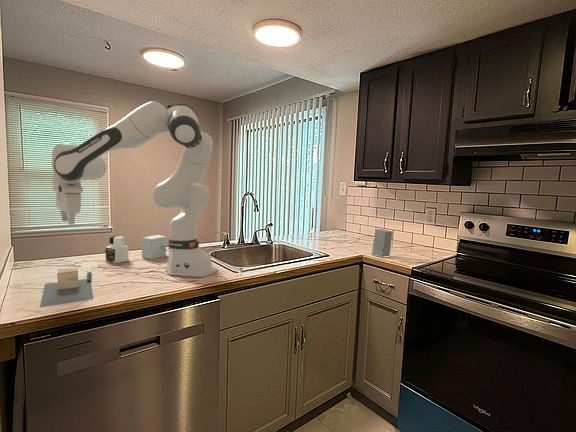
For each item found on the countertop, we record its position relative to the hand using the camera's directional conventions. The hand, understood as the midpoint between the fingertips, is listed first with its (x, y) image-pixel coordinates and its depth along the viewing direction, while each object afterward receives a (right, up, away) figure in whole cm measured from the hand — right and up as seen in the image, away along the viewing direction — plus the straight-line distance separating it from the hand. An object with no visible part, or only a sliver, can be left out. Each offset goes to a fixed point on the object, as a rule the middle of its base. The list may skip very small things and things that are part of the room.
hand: (68, 222), depth 121 cm
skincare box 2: (+141, -22, +64) cm, 156 cm away
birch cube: (+5, -23, -7) cm, 25 cm away
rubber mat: (+9, -24, -12) cm, 28 cm away
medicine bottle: (+3, -19, +29) cm, 35 cm away
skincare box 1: (+16, -19, +40) cm, 47 cm away
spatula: (+2, -21, +10) cm, 24 cm away
